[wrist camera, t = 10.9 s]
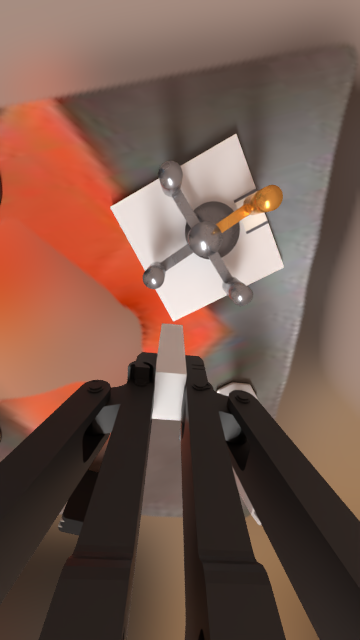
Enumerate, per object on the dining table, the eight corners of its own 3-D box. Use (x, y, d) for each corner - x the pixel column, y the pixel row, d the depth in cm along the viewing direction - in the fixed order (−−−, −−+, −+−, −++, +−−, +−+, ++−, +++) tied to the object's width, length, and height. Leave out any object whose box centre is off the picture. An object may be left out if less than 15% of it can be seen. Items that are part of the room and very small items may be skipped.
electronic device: (118, 491, 57) (107, 542, 48) (76, 480, 56) (56, 530, 46) (123, 479, 56) (113, 528, 47) (80, 467, 55) (61, 516, 45)
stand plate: (112, 208, 37) (109, 206, 35) (233, 137, 34) (236, 132, 33) (173, 318, 43) (173, 321, 42) (280, 266, 41) (284, 267, 39)
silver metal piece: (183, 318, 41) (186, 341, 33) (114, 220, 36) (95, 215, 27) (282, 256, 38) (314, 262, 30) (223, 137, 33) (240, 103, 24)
